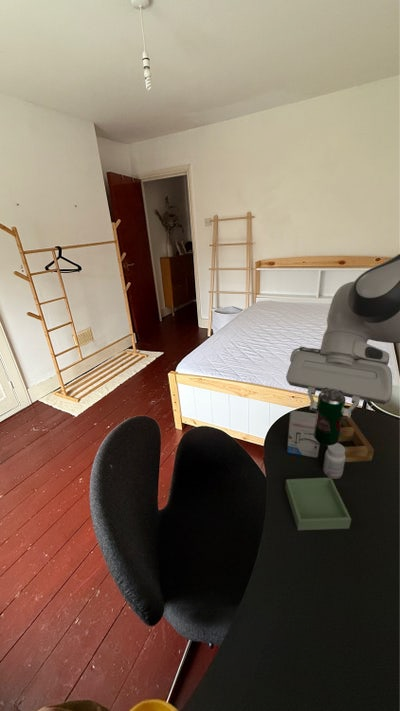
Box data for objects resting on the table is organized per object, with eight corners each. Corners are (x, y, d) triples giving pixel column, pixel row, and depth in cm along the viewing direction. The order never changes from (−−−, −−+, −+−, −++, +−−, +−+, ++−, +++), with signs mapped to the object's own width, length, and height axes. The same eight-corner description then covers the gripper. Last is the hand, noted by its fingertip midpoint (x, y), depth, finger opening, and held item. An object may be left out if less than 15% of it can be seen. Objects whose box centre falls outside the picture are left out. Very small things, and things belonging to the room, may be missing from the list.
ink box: (286, 452, 86) (289, 420, 81) (287, 441, 90) (290, 409, 85) (318, 458, 84) (322, 425, 78) (318, 446, 88) (322, 414, 83)
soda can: (308, 435, 66) (313, 390, 61) (326, 428, 68) (333, 384, 63) (324, 450, 62) (331, 402, 57) (343, 442, 64) (352, 396, 58)
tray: (329, 486, 75) (331, 477, 74) (349, 528, 65) (351, 519, 64) (285, 487, 76) (285, 479, 74) (297, 530, 66) (298, 521, 64)
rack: (344, 420, 97) (345, 410, 96) (371, 460, 81) (374, 449, 80) (314, 421, 98) (315, 411, 96) (336, 462, 82) (338, 451, 80)
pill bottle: (346, 475, 78) (351, 451, 74) (332, 481, 76) (336, 457, 73) (332, 462, 82) (336, 439, 78) (319, 468, 80) (322, 444, 77)
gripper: (291, 340, 67) (277, 399, 64) (398, 354, 57) (388, 425, 54) (295, 350, 72) (281, 405, 69) (393, 365, 63) (383, 429, 59)
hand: (329, 414), depth 61 cm, fingers closed on soda can, 5 cm apart
